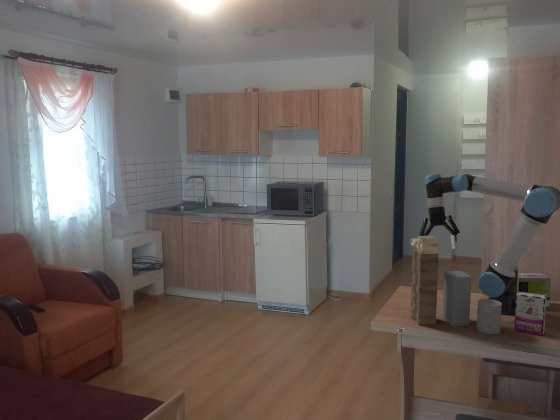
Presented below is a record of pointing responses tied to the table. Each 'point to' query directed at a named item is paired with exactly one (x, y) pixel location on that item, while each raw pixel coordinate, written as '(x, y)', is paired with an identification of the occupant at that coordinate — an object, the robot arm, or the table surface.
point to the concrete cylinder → (489, 316)
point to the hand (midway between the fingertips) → (441, 250)
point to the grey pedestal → (456, 298)
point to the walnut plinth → (424, 287)
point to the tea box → (534, 284)
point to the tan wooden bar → (425, 244)
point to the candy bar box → (530, 313)
